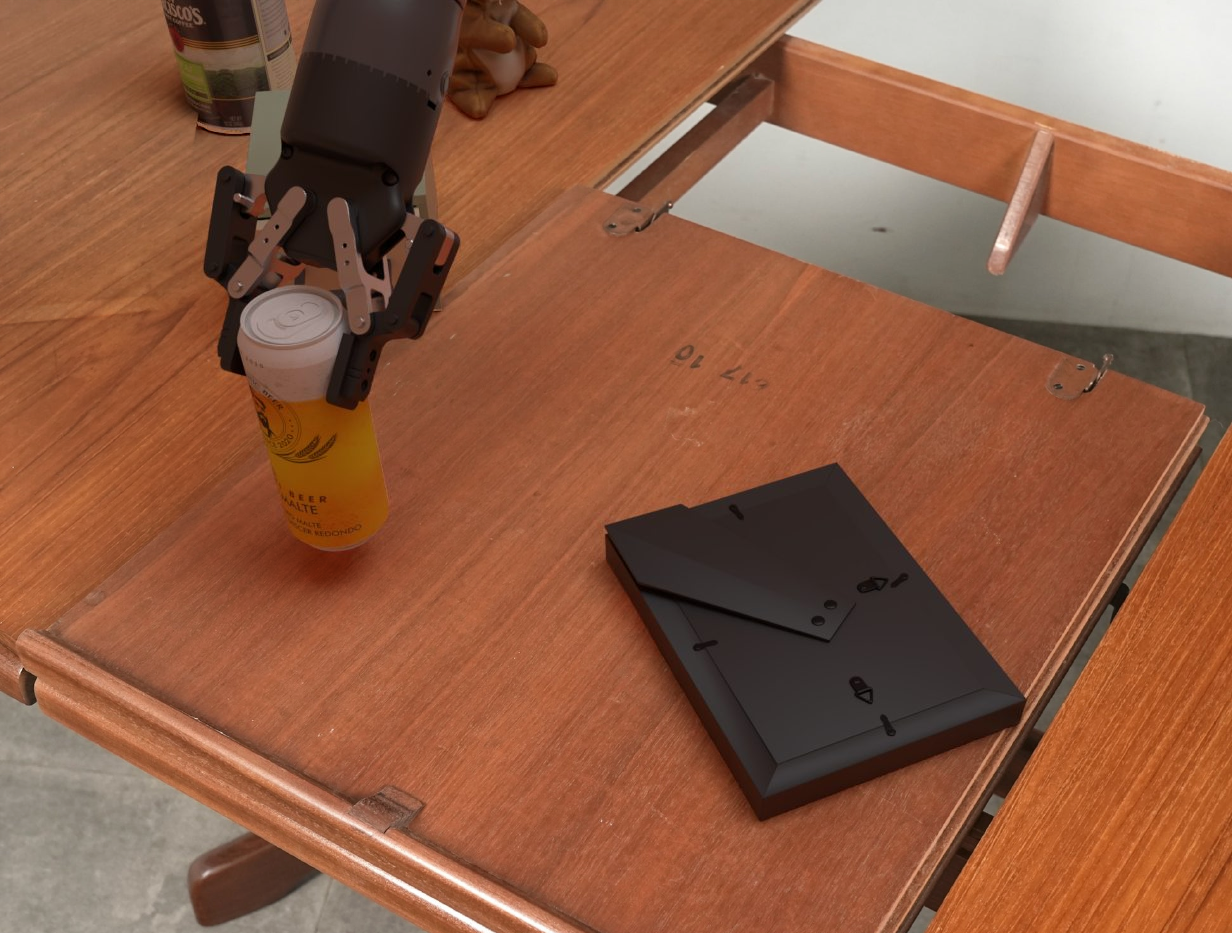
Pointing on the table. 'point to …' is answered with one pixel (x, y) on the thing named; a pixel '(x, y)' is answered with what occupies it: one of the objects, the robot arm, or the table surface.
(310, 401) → the beer can
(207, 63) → the coffee can
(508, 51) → the stuffed squirrel
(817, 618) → the picture frame
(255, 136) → the cabinet
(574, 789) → the table surface
